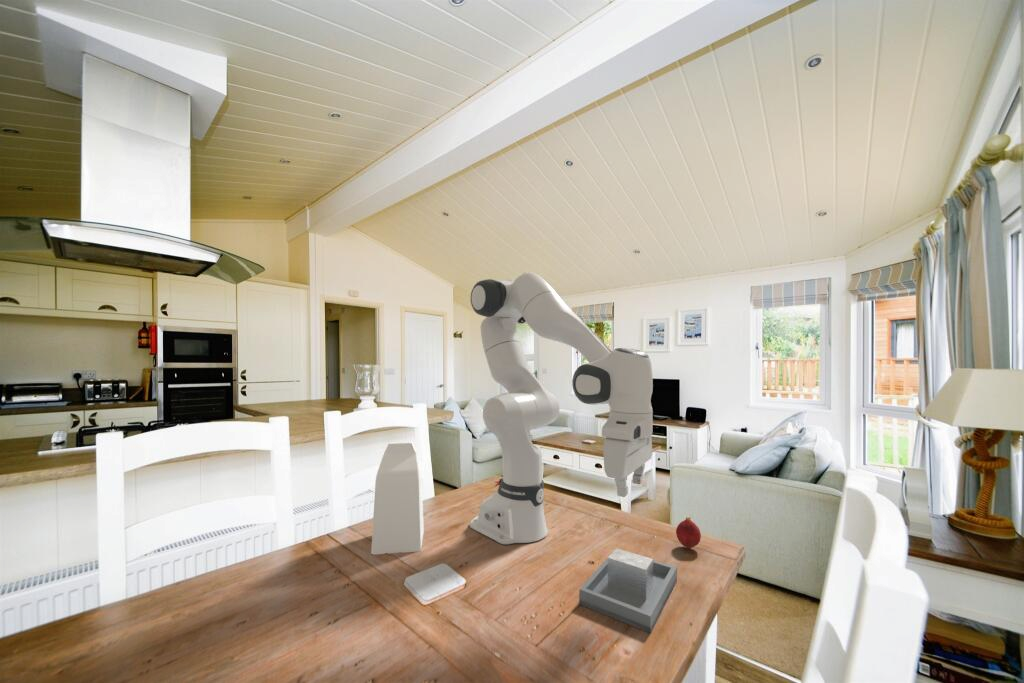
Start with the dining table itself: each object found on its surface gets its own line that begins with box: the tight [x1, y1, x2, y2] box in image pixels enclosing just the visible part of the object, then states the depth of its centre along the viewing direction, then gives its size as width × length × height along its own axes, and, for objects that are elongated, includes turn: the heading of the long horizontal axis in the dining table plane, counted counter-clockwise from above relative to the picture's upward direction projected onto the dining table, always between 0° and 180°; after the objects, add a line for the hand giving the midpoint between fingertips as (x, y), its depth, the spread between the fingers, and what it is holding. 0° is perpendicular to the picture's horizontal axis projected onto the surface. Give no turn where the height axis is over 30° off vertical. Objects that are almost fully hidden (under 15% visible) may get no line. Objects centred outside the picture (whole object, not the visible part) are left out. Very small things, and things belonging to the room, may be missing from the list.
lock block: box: [607, 548, 654, 600], centre depth 84 cm, size 8×5×6 cm, turn 55°
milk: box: [370, 441, 425, 555], centre depth 105 cm, size 12×12×26 cm
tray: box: [578, 552, 678, 634], centre depth 84 cm, size 14×20×3 cm
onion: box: [675, 516, 702, 550], centre depth 102 cm, size 6×6×8 cm
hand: (630, 489), depth 85 cm, fingers open, 8 cm apart
